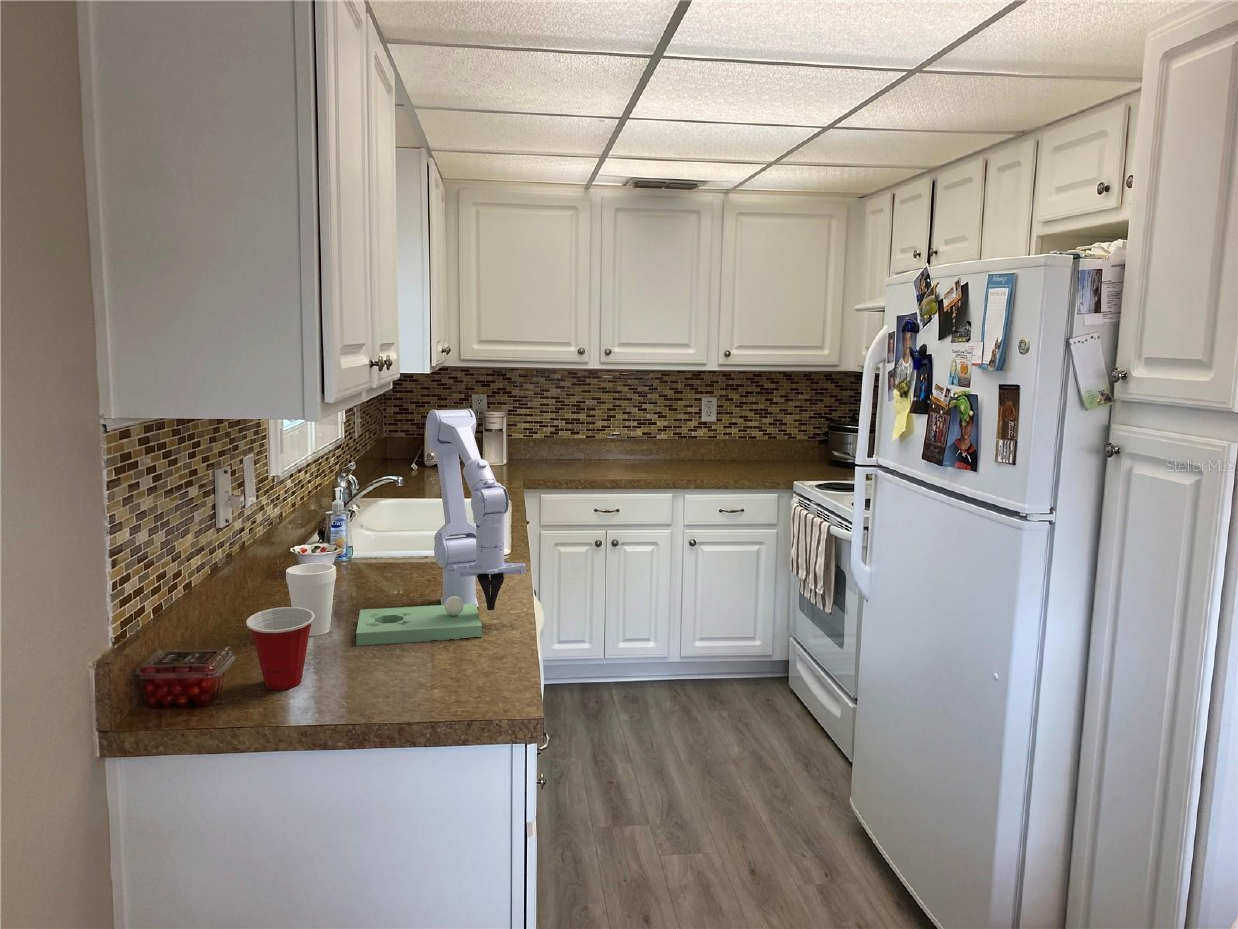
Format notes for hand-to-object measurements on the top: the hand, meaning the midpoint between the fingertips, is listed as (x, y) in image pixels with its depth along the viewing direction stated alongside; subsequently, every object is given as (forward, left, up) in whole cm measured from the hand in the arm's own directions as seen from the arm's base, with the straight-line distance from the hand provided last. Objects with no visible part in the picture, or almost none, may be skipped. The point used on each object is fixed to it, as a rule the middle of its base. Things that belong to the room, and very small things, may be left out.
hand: (490, 609), depth 181 cm
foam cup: (-3, -36, -4) cm, 36 cm away
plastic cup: (+26, -38, -4) cm, 46 cm away
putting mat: (0, -15, -3) cm, 15 cm away
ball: (0, -8, +1) cm, 8 cm away
